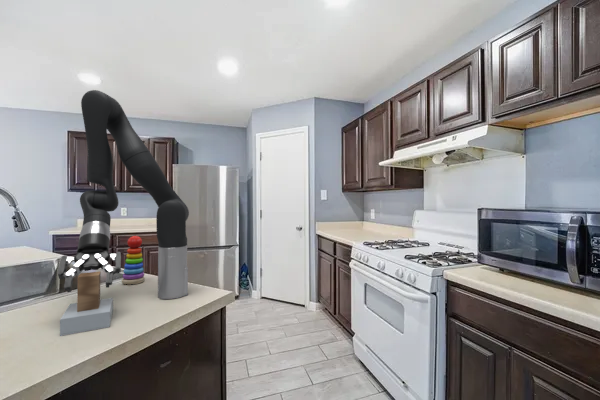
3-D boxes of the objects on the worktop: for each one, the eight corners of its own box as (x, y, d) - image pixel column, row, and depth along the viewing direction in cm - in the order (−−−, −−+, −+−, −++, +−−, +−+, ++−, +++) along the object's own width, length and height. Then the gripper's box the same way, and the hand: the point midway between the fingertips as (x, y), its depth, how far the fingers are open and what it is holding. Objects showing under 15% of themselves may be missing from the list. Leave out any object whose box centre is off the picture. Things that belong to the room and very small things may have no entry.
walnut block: (100, 303, 79) (100, 271, 79) (98, 308, 75) (98, 275, 75) (79, 306, 76) (80, 273, 76) (77, 311, 73) (77, 277, 73)
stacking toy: (119, 286, 107) (120, 237, 107) (123, 280, 115) (124, 235, 115) (143, 284, 110) (143, 236, 111) (145, 278, 118) (146, 234, 118)
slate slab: (112, 311, 83) (113, 297, 83) (109, 326, 73) (109, 311, 73) (70, 317, 78) (70, 303, 78) (59, 335, 68) (60, 319, 68)
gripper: (62, 233, 79) (51, 284, 69) (122, 230, 86) (120, 277, 76) (66, 249, 83) (56, 299, 73) (123, 245, 90) (120, 291, 80)
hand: (88, 288), depth 74 cm, fingers open, 8 cm apart
